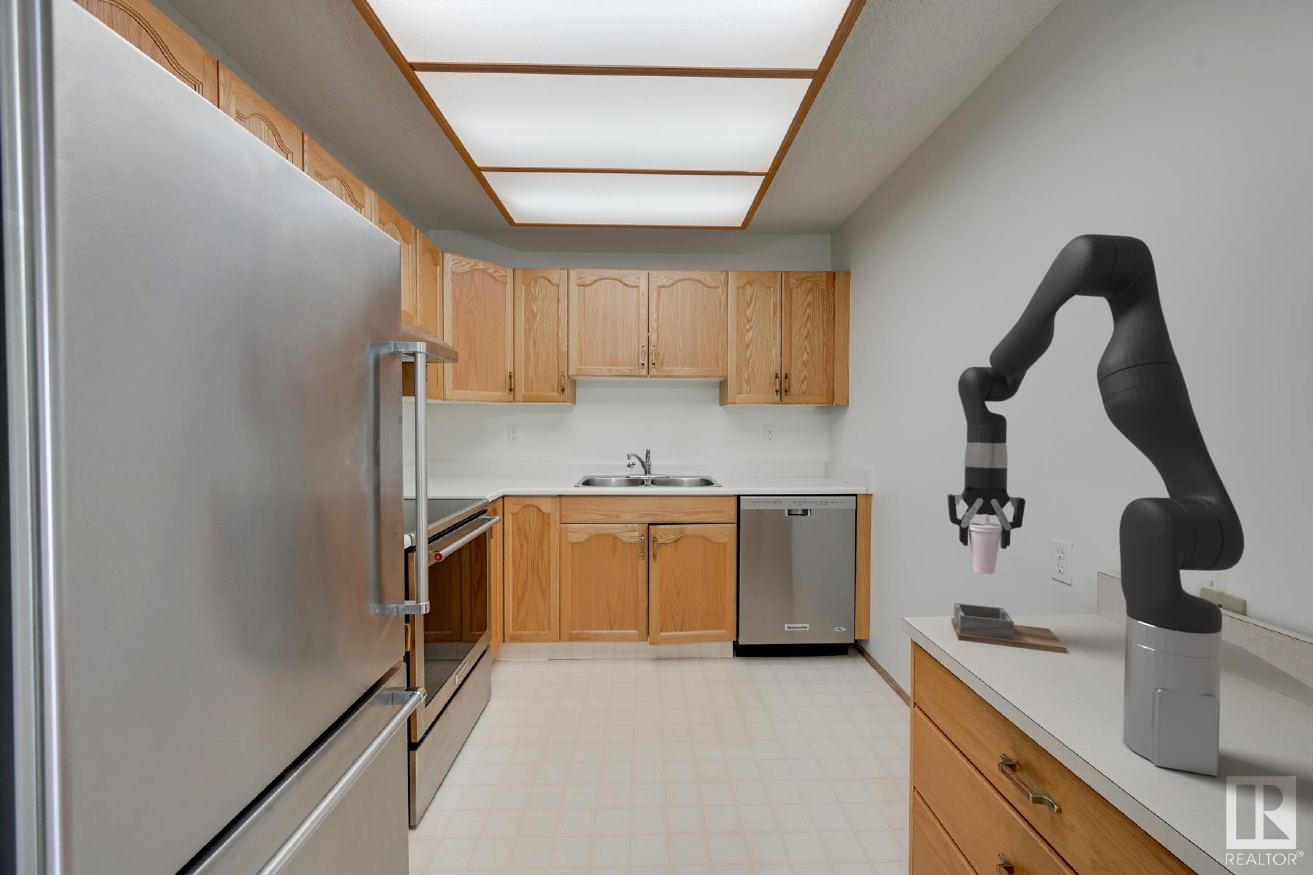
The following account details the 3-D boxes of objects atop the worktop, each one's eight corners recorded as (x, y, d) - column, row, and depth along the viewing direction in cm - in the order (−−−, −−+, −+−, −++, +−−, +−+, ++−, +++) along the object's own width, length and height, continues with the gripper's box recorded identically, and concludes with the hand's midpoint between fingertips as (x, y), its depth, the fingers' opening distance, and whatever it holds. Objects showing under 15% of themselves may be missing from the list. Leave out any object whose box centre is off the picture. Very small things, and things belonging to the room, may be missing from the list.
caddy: (1065, 653, 107) (1066, 629, 107) (958, 639, 114) (959, 617, 114) (1048, 633, 118) (1049, 611, 118) (951, 622, 124) (951, 601, 124)
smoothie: (1000, 577, 112) (1001, 506, 112) (963, 572, 116) (964, 503, 116) (1003, 571, 117) (1004, 503, 117) (968, 566, 121) (969, 500, 121)
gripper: (948, 464, 115) (947, 547, 116) (1031, 467, 110) (1030, 553, 111) (944, 462, 122) (942, 540, 123) (1022, 465, 117) (1020, 546, 118)
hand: (984, 546), depth 117 cm, fingers closed on smoothie, 6 cm apart
